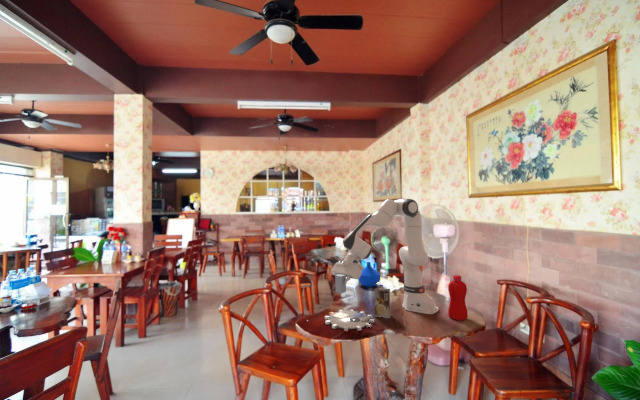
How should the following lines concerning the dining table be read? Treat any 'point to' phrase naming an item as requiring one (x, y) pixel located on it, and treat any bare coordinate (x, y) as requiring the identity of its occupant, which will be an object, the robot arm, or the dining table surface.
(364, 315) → the sprocket
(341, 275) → the drive pin
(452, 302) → the water bottle
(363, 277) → the vase
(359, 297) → the dining table surface
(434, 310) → the robot arm
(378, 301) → the coffee box
